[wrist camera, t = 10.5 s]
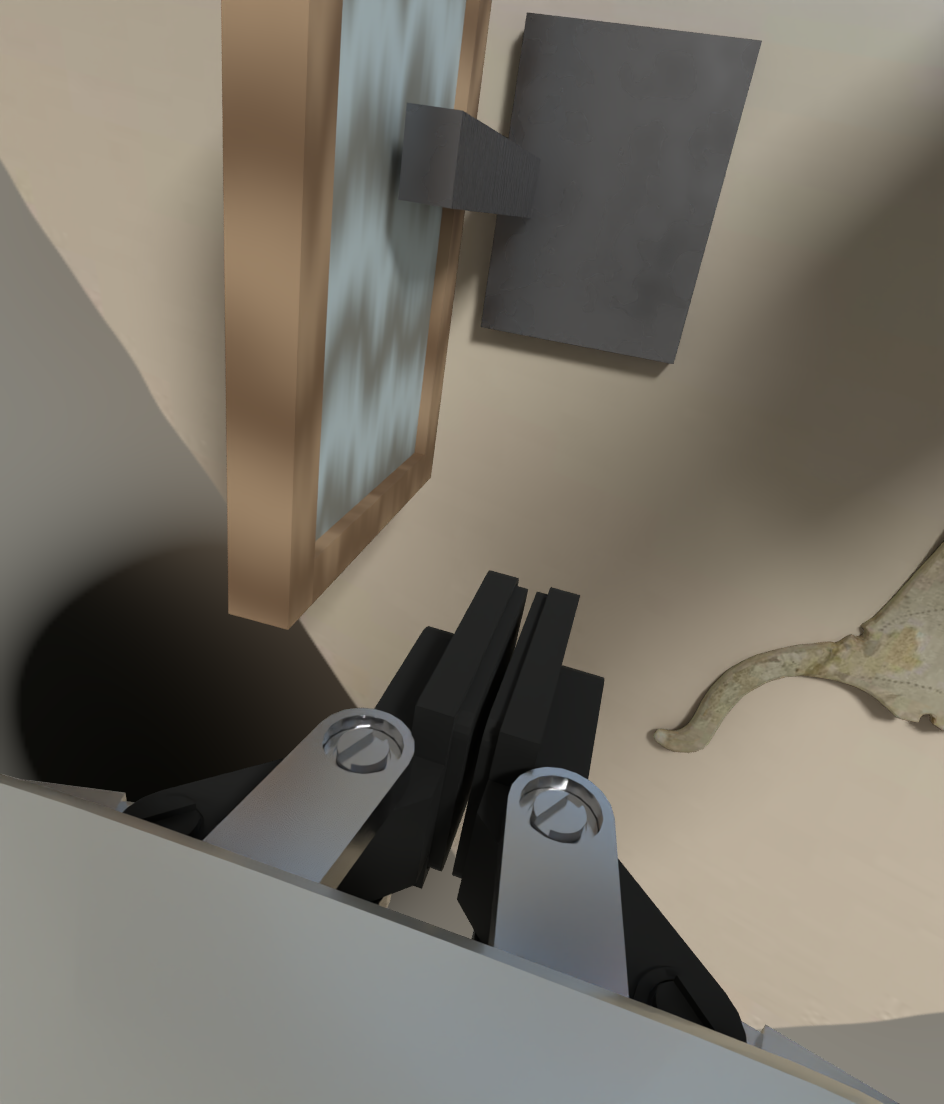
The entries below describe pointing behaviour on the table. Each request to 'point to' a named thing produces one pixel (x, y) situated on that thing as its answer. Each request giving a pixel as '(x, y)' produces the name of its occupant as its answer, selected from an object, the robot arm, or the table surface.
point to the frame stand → (593, 178)
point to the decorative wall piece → (849, 662)
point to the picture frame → (331, 279)
